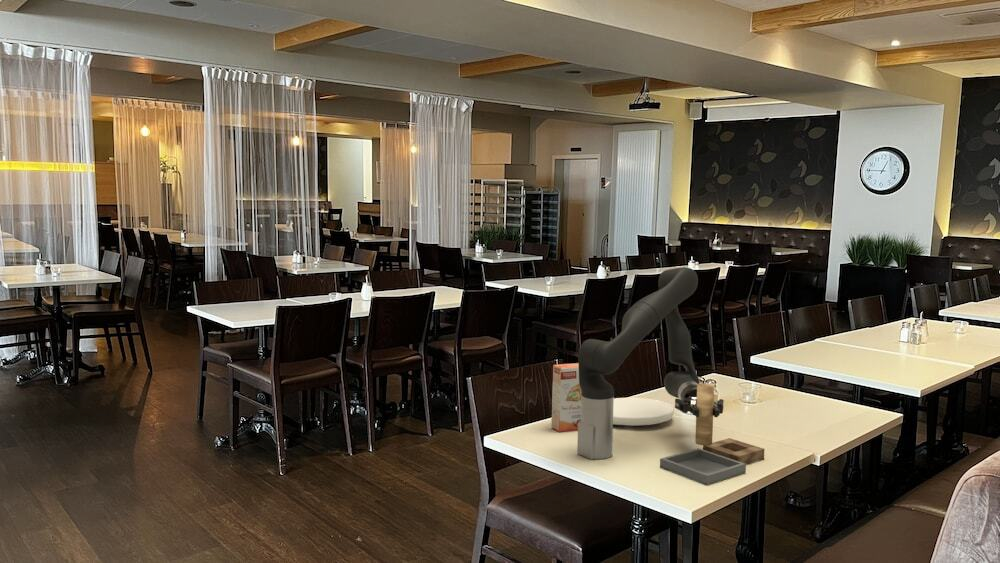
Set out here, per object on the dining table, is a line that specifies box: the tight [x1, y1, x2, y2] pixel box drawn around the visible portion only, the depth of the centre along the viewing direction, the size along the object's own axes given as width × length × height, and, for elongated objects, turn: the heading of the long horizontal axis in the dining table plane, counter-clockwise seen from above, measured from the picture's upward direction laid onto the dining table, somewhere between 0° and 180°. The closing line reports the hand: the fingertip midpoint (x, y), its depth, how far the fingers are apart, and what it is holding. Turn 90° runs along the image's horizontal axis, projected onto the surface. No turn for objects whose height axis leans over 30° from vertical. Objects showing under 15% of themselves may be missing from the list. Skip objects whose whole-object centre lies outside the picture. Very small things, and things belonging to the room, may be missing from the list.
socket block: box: [702, 437, 765, 466], centre depth 213 cm, size 12×12×3 cm
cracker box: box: [551, 362, 581, 433], centre depth 239 cm, size 14×6×21 cm, turn 114°
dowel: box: [694, 382, 715, 447], centre depth 201 cm, size 4×4×16 cm
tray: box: [659, 447, 747, 486], centre depth 202 cm, size 16×16×2 cm
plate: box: [613, 397, 675, 427], centre depth 251 cm, size 28×6×27 cm
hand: (707, 413), depth 198 cm, fingers closed on dowel, 4 cm apart
